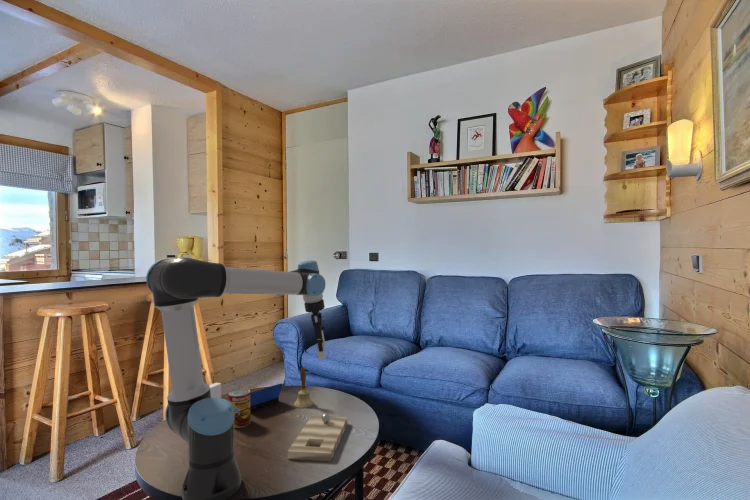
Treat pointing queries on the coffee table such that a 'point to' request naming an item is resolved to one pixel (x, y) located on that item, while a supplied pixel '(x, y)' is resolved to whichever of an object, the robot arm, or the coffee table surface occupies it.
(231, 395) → the canned food
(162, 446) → the coffee table surface
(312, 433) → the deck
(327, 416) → the ball
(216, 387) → the base with upright slab
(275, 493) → the coffee table surface
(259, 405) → the handheld game console
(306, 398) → the hand bell
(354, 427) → the coffee table surface
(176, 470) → the coffee table surface
